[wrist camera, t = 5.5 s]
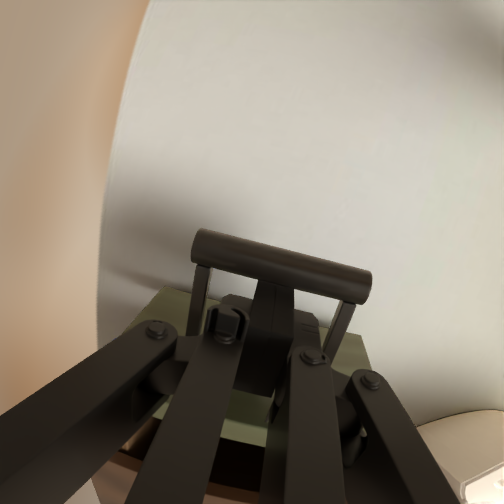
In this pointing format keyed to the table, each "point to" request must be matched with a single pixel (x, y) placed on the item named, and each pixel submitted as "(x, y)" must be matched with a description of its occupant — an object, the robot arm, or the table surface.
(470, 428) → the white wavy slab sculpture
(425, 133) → the table surface
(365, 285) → the drawer
